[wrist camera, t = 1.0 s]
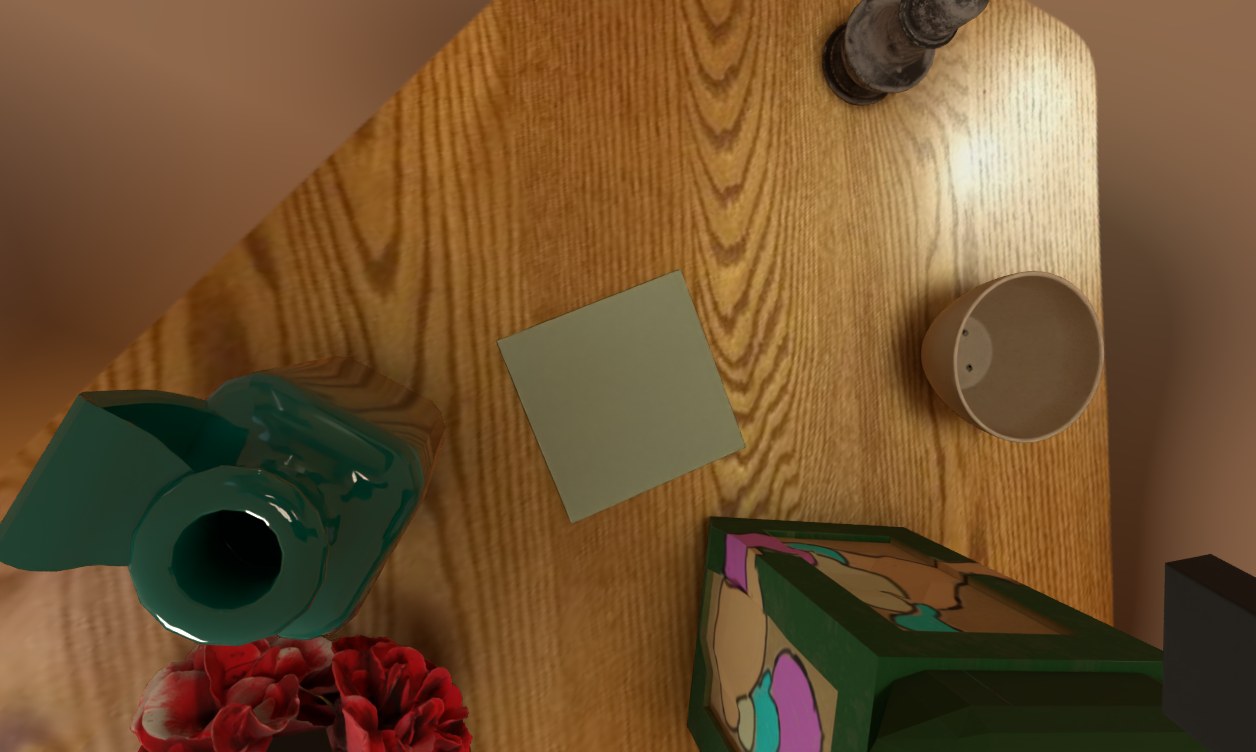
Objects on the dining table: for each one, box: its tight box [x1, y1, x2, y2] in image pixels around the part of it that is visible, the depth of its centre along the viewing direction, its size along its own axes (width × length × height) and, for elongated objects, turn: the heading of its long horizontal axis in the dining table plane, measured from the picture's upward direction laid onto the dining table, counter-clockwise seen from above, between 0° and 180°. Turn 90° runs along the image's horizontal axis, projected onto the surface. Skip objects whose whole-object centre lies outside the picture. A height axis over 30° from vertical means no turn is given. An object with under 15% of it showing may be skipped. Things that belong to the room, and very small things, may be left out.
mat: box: [497, 269, 746, 524], centre depth 45 cm, size 12×12×1 cm
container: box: [687, 516, 1209, 752], centre depth 36 cm, size 15×18×25 cm
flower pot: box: [921, 271, 1104, 443], centre depth 46 cm, size 10×10×7 cm
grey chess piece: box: [823, 0, 989, 105], centre depth 41 cm, size 6×6×12 cm
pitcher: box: [0, 356, 446, 646], centre depth 31 cm, size 10×8×22 cm
